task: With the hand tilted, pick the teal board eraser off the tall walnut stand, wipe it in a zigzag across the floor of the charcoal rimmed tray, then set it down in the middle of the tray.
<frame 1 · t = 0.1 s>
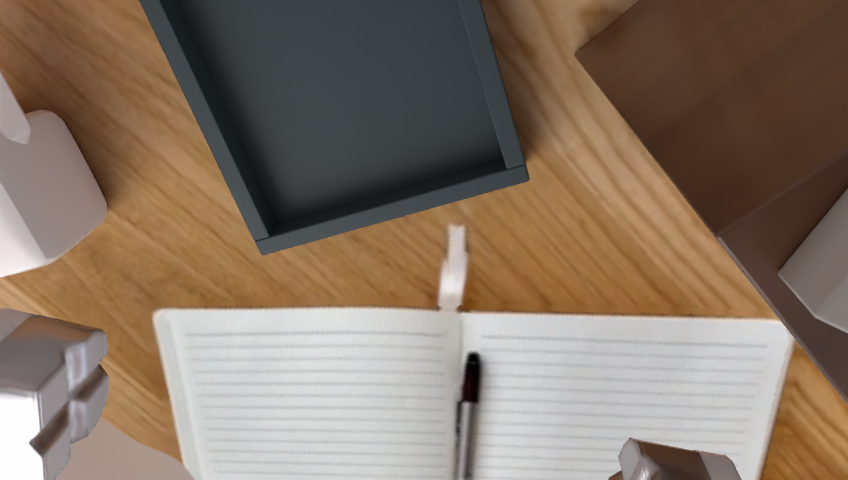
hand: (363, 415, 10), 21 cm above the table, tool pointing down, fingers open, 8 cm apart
power adapter: (31, 117, 31), on the table
tray: (335, 37, 28), on the table
stand: (692, 62, 28), on the table
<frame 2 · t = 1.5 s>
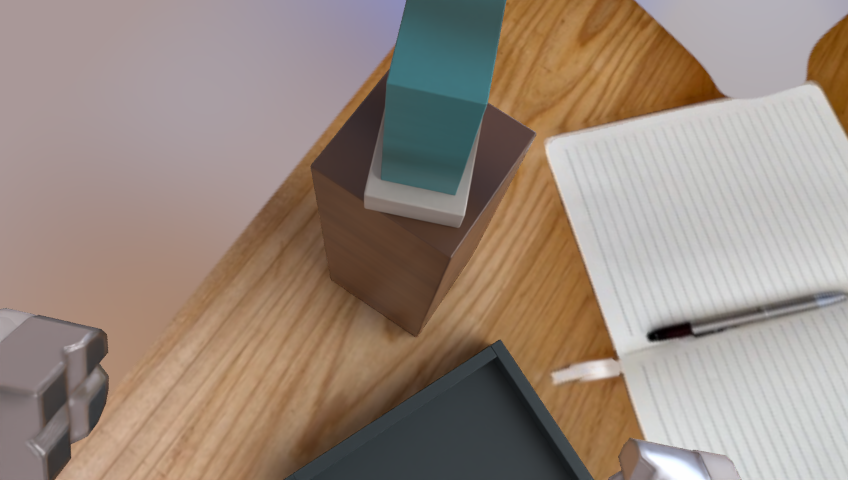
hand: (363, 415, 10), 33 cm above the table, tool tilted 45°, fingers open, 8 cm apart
eraser: (426, 148, 28), point 18 cm above the table, touching stand
stand: (402, 266, 45), on the table
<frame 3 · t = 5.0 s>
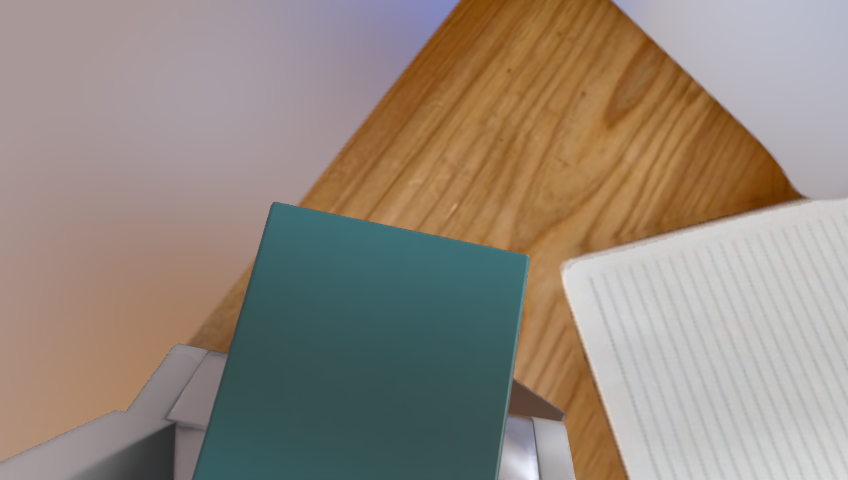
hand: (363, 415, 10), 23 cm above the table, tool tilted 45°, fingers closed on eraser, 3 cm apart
eraser: (358, 458, 15), point 18 cm above the table, touching gripper, stand
stand: (361, 460, 32), on the table
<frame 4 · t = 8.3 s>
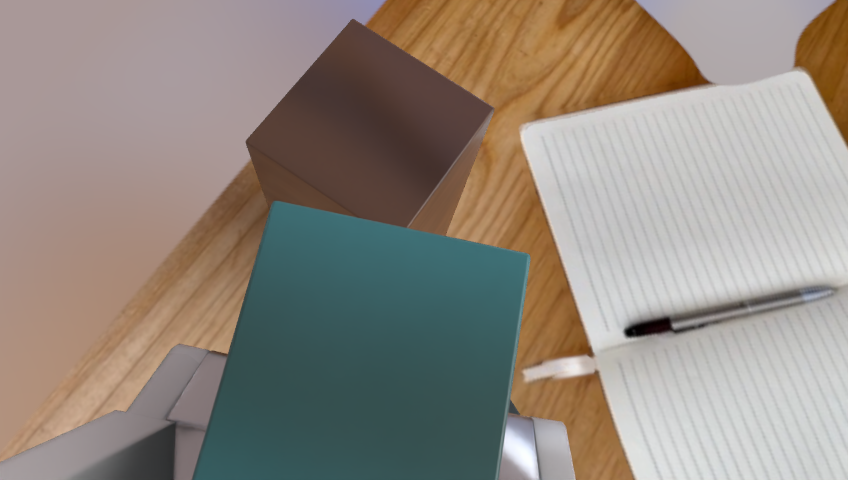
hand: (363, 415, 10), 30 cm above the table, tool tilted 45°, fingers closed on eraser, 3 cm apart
eraser: (358, 457, 15), point 26 cm above the table, touching gripper
stand: (367, 257, 43), on the table
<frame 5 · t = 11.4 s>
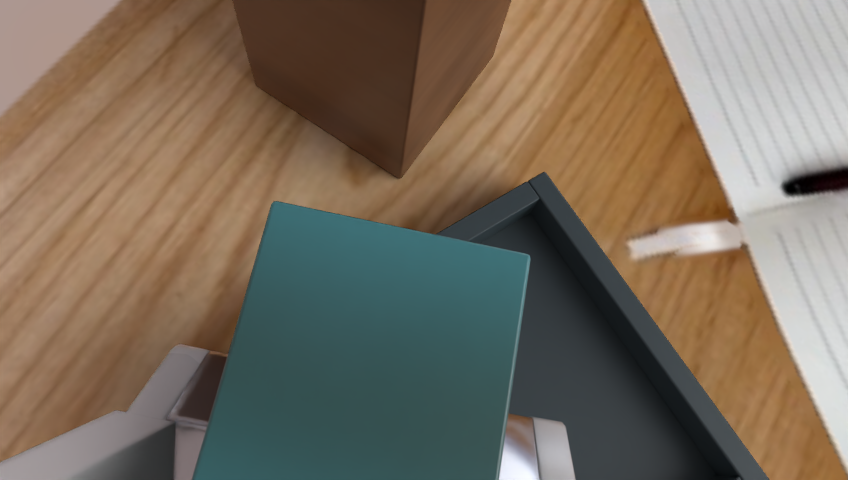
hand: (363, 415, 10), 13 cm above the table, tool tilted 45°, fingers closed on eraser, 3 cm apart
tray: (452, 448, 23), on the table
eraser: (358, 458, 15), point 8 cm above the table, touching gripper
stand: (377, 70, 27), on the table
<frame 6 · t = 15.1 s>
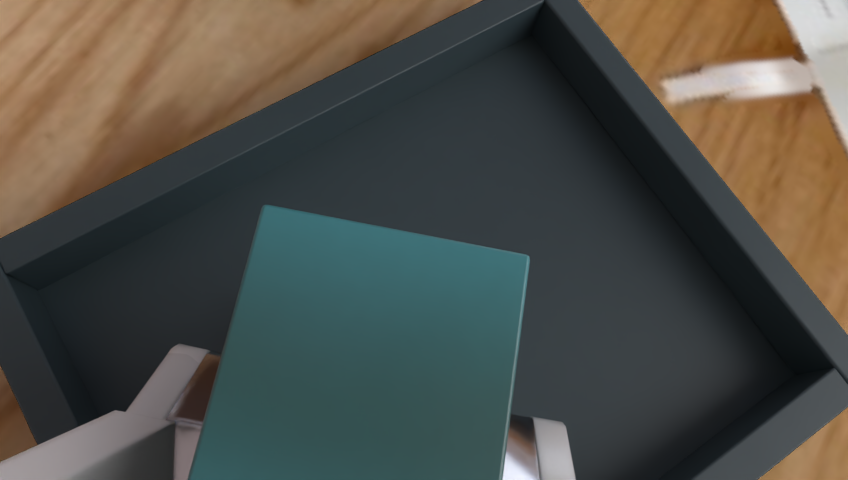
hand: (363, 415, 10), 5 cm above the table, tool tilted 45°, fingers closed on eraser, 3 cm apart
tray: (424, 340, 16), on the table
eraser: (357, 462, 14), point 1 cm above the table, touching gripper
when the fingers open (5 cm above the table, at t = 18.0 s): eraser stays where it is, resting on tray.
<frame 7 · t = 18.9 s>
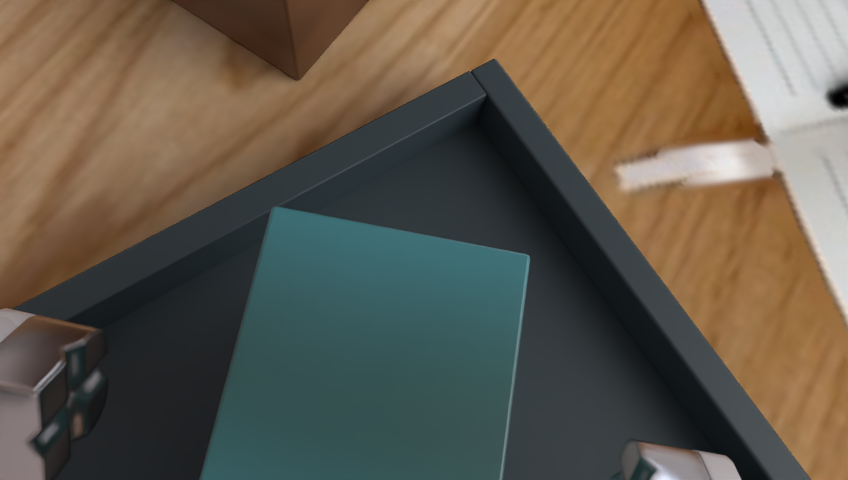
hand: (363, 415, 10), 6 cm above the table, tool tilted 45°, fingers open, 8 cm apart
tray: (358, 455, 15), on the table
eraser: (360, 459, 15), point 1 cm above the table, touching tray
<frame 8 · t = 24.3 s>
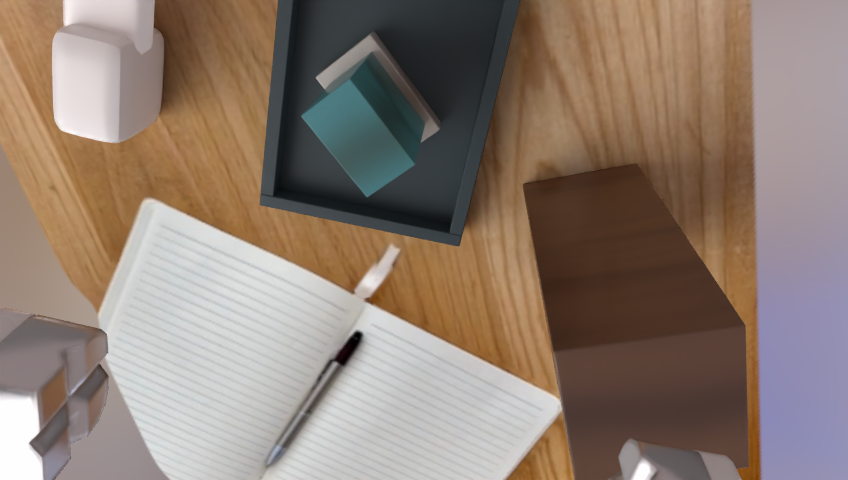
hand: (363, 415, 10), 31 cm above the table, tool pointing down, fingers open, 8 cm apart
power adapter: (138, 24, 39), on the table
tray: (385, 94, 39), on the table
eraser: (381, 97, 39), point 1 cm above the table, touching tray
stand: (585, 224, 42), on the table
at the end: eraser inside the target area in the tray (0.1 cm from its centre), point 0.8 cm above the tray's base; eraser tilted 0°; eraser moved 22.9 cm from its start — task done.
